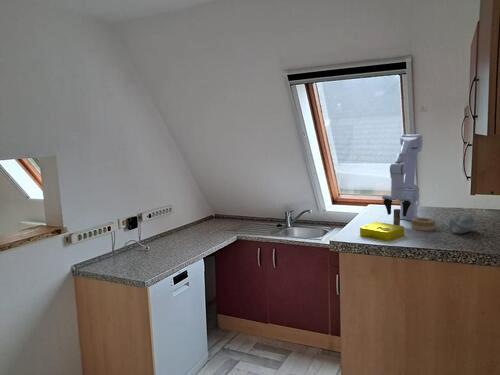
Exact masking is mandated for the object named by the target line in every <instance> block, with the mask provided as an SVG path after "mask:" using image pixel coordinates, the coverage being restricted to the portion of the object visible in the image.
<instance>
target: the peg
mask: <svg viewBox="0 0 500 375" xmlns="http://www.w3.org/2000/svg"><path fill="white" fill-rule="evenodd" d="M393 225H399V226H401V219H400V208H394V209H393Z"/></svg>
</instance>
